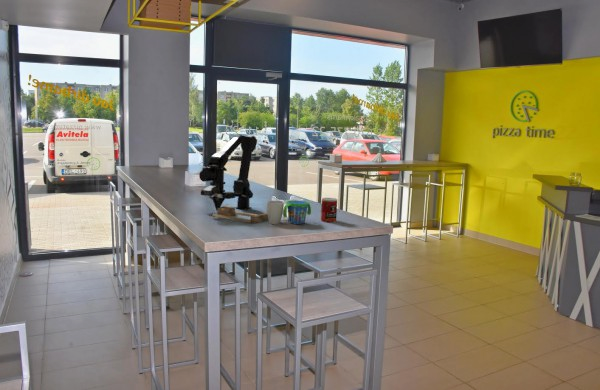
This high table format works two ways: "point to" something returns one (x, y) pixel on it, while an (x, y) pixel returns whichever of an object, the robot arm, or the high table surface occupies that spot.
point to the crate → (226, 210)
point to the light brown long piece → (254, 217)
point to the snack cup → (297, 211)
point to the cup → (275, 211)
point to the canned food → (328, 209)
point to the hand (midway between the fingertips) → (217, 210)
